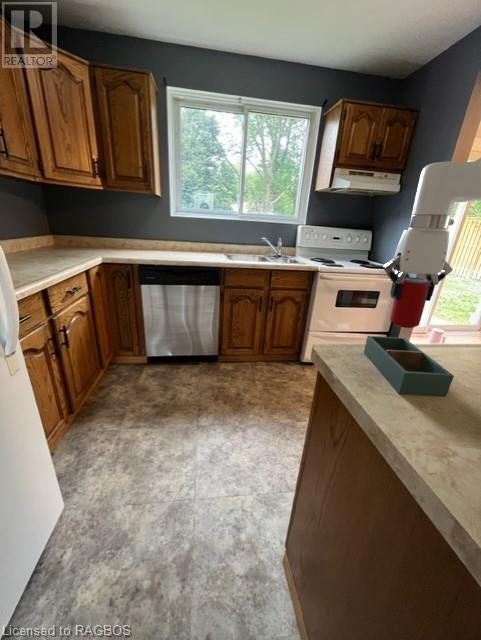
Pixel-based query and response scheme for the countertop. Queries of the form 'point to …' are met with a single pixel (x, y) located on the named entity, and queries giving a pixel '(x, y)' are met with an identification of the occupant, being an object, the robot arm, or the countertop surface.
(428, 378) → the open rectangular storage bin
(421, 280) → the beverage can
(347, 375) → the countertop surface
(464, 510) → the countertop surface
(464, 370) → the countertop surface
